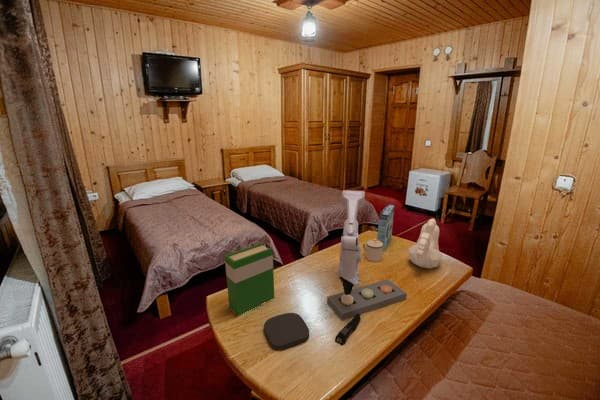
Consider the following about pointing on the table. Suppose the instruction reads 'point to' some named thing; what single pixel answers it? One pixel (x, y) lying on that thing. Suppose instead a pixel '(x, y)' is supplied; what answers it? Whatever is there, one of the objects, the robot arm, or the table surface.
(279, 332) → the media streaming box
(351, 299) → the cream button
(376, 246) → the teacup with lid
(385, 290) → the terracotta button
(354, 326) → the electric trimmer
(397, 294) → the button panel
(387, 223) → the gum box
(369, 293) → the sage button
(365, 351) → the table surface
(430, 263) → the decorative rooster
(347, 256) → the robot arm
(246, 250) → the hardback book
